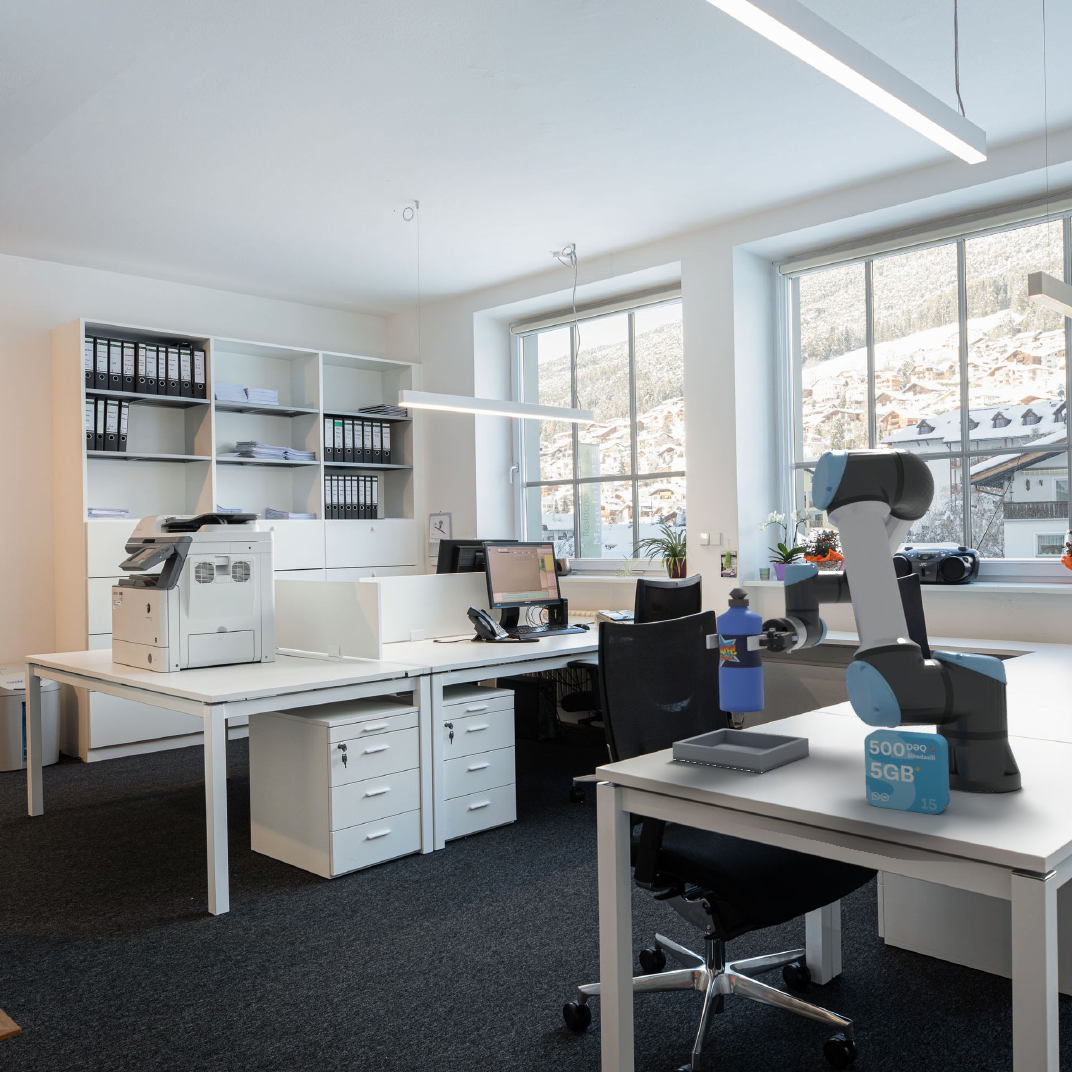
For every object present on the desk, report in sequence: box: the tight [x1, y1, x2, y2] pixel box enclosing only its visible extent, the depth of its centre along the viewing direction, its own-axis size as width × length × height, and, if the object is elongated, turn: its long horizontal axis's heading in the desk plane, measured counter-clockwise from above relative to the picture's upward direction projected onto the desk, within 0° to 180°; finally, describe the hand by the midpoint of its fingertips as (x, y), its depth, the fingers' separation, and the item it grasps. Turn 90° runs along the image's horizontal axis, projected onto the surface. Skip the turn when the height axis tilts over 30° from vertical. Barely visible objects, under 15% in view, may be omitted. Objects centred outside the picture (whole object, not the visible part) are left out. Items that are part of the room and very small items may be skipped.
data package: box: [863, 728, 951, 815], centre depth 151 cm, size 12×4×12 cm, turn 54°
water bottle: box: [716, 587, 765, 713], centre depth 192 cm, size 9×9×25 cm
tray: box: [672, 727, 810, 774], centre depth 190 cm, size 20×20×4 cm
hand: (728, 642), depth 189 cm, fingers closed on water bottle, 9 cm apart
